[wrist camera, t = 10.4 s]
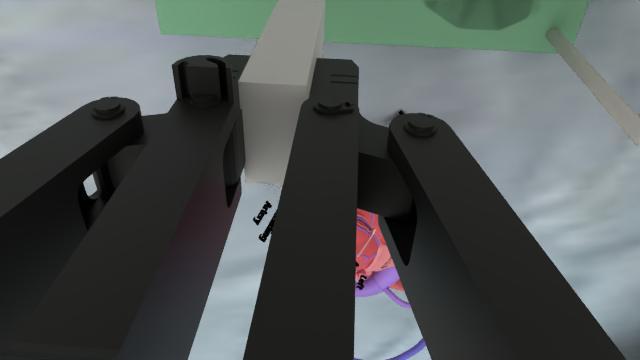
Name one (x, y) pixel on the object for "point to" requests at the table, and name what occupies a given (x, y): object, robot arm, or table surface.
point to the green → (420, 30)
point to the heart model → (368, 263)
